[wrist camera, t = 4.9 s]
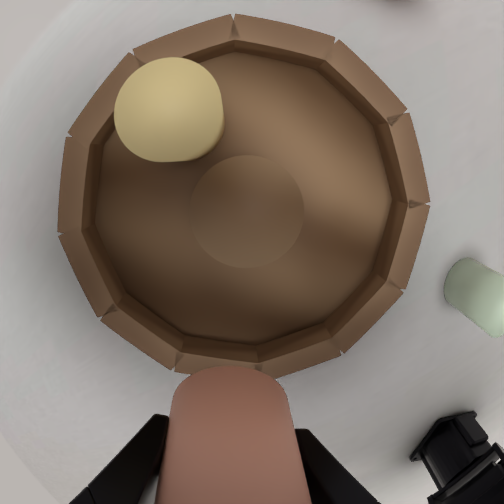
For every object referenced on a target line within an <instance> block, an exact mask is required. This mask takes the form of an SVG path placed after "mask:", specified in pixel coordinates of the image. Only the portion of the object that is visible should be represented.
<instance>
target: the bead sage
mask: <svg viewBox="0 0 504 504" xmlns="http://www.w3.org/2000/svg"><path fill="white" fill-rule="evenodd" d="M444 296H445V299H446V300H447V302H448V303H450V304H451V305H452V306H453V307H455V308H456V309H457V310H459V311H460V312H461V313H462V314H464V315H465V316H466V317H468V318H469V319H470V320H471V321H473V322H474V323H475V324H476V325H478V326H479V327H480V328H481V329H482V330H484V331H485V332H486V333H487V334H489V335H490V336H491V337H493V338H498V337H500V336H502V335H504V276H503V275H501V274H499V273H498V272H496V271H494V270H492V269H490V268H488V267H487V266H485V265H483V264H481V263H479V262H477V261H475V260H473V259H471V258H463V259H461V260H459V261H458V262H457V263H456V264H455V265H454V266H453V267H452V268H451V270H450V271H449V273H448V275H447V278H446V280H445V284H444Z"/></svg>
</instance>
